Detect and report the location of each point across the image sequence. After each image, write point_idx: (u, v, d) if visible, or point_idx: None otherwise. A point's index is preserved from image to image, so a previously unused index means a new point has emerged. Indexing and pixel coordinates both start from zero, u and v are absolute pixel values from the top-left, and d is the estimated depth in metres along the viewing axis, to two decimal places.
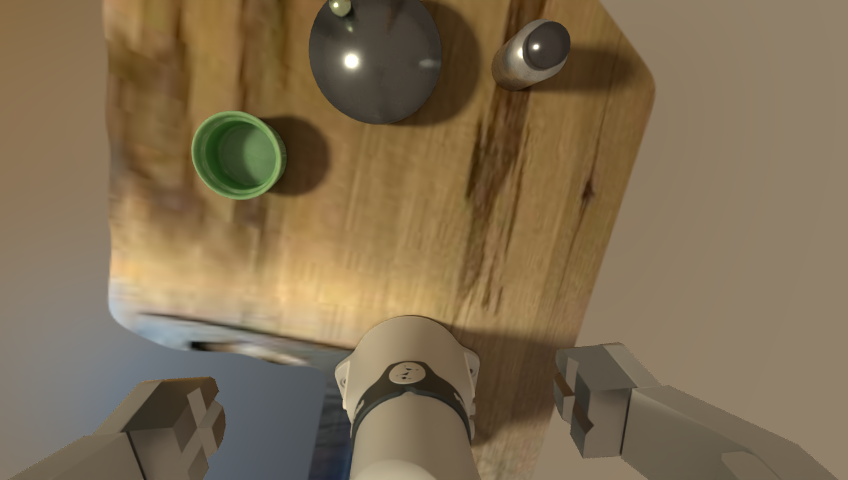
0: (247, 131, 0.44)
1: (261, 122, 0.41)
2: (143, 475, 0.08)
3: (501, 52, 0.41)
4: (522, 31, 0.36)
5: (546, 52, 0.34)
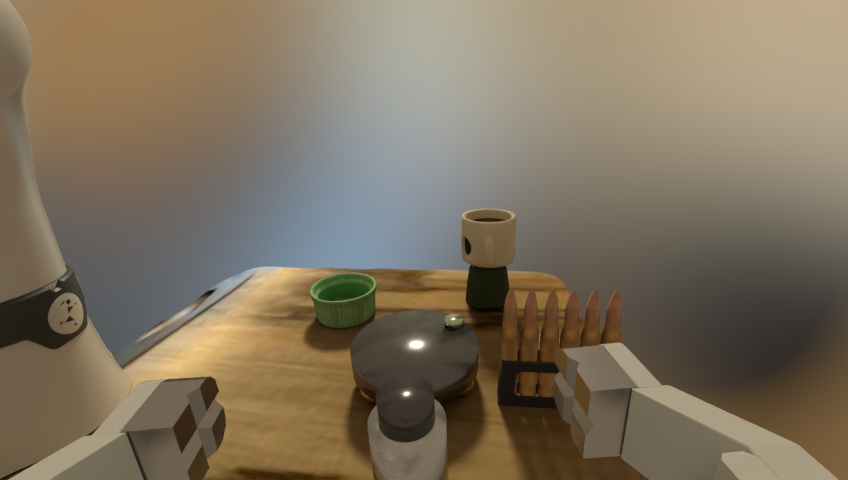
0: None
1: (365, 294, 0.52)
2: (143, 475, 0.08)
3: None
4: None
5: (395, 391, 0.25)
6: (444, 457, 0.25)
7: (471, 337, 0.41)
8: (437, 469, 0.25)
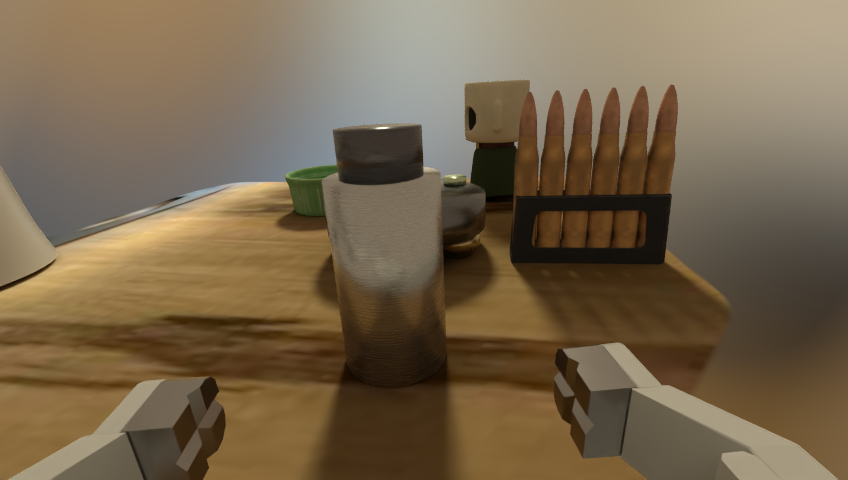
0: None
1: None
2: (143, 475, 0.08)
3: None
4: None
5: (363, 127, 0.17)
6: (437, 229, 0.17)
7: (476, 190, 0.33)
8: (427, 238, 0.16)
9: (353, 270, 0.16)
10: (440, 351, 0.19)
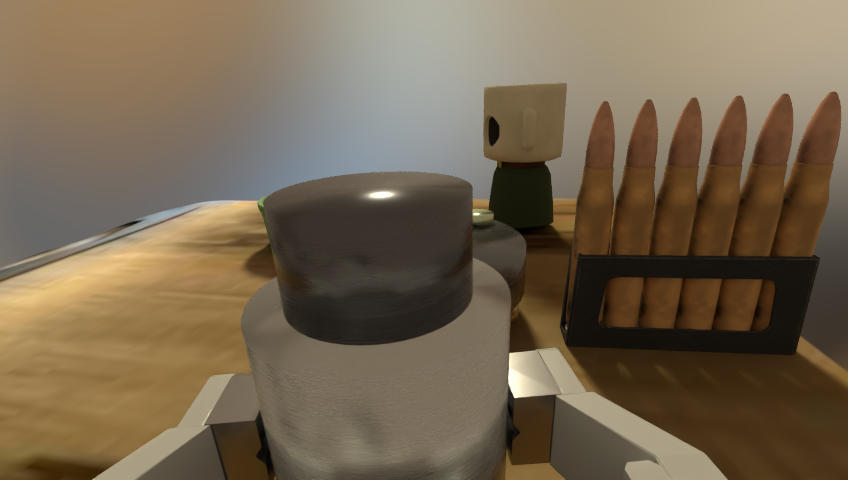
0: None
1: None
2: (223, 468, 0.08)
3: None
4: None
5: (338, 188, 0.07)
6: (503, 414, 0.08)
7: (511, 235, 0.24)
8: (485, 451, 0.07)
9: None
10: None
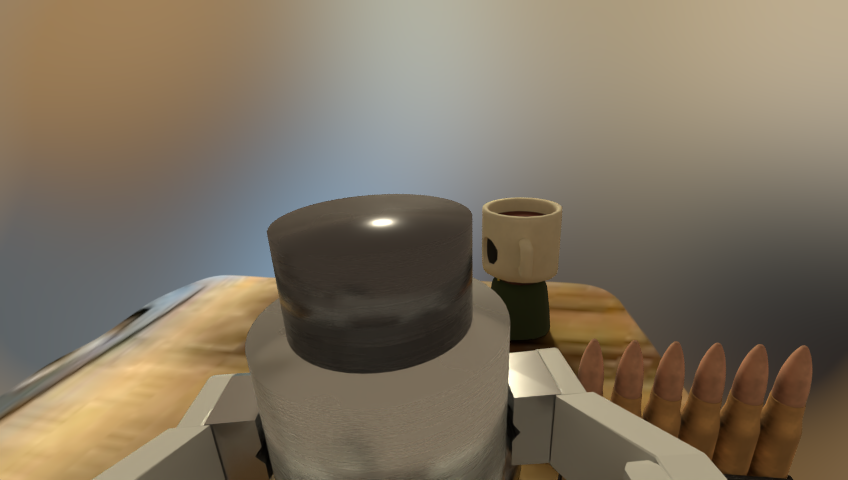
0: None
1: None
2: (222, 468, 0.08)
3: None
4: None
5: (340, 215, 0.07)
6: (503, 436, 0.08)
7: None
8: (485, 474, 0.07)
9: None
10: None
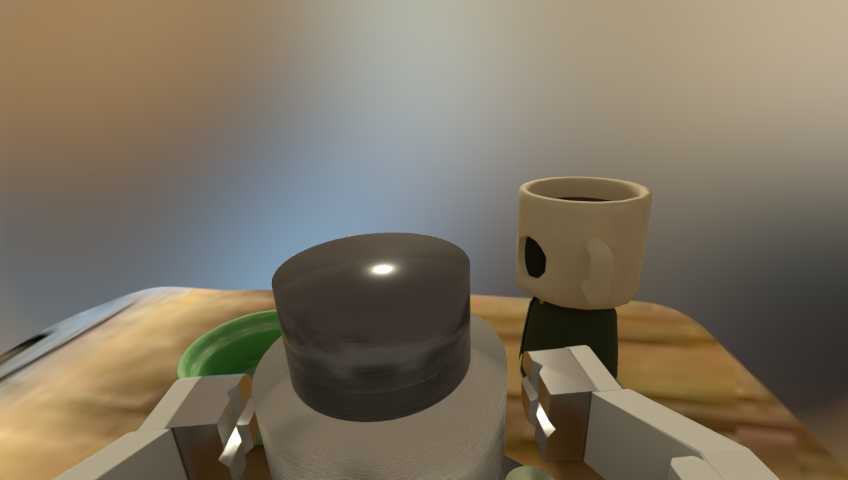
0: None
1: None
2: (186, 471, 0.08)
3: None
4: None
5: (342, 261, 0.08)
6: (500, 472, 0.08)
7: None
8: None
9: None
10: None
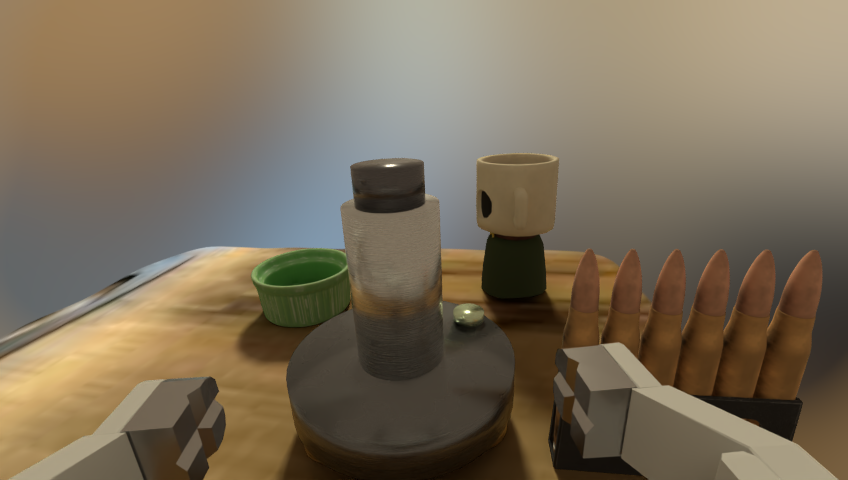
0: None
1: (332, 276, 0.35)
2: (143, 475, 0.08)
3: None
4: None
5: (375, 163, 0.20)
6: (436, 248, 0.20)
7: (501, 344, 0.24)
8: (428, 256, 0.20)
9: (366, 283, 0.20)
10: (438, 350, 0.22)
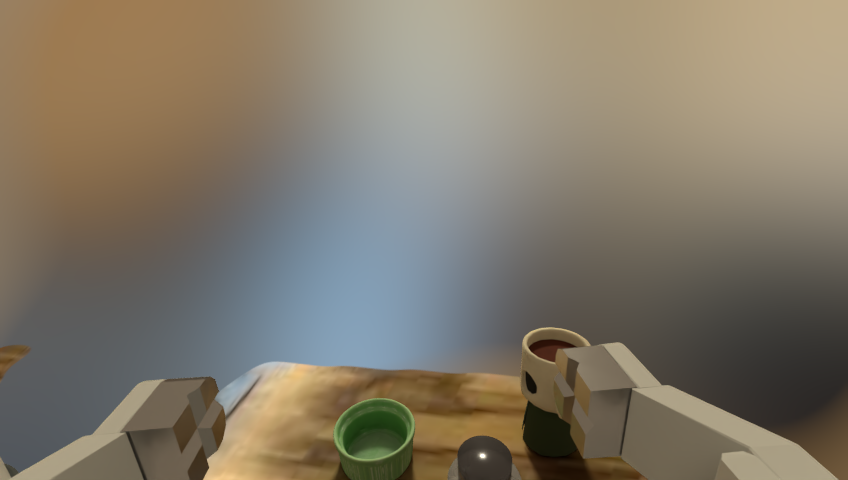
0: None
1: (403, 446, 0.42)
2: (143, 475, 0.08)
3: None
4: None
5: (474, 454, 0.27)
6: None
7: None
8: None
9: None
10: None
